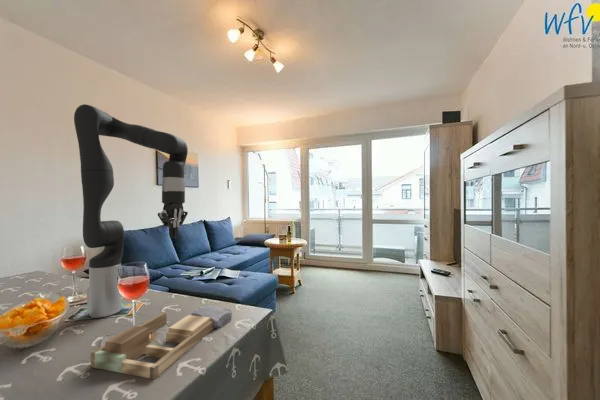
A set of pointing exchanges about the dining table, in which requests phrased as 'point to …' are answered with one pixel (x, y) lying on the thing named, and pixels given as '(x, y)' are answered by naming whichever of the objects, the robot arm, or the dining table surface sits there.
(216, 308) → the stone block
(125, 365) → the box
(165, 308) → the dining table surface
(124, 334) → the walnut block
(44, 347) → the dining table surface
